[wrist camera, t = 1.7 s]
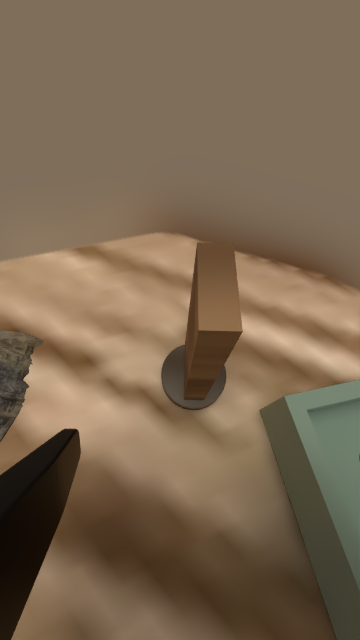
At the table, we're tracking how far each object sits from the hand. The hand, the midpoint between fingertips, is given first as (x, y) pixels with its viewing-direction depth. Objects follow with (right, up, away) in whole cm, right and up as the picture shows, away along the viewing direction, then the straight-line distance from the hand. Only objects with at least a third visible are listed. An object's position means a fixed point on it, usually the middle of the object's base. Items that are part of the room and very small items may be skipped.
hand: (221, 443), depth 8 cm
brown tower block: (0, -1, +13) cm, 13 cm away
